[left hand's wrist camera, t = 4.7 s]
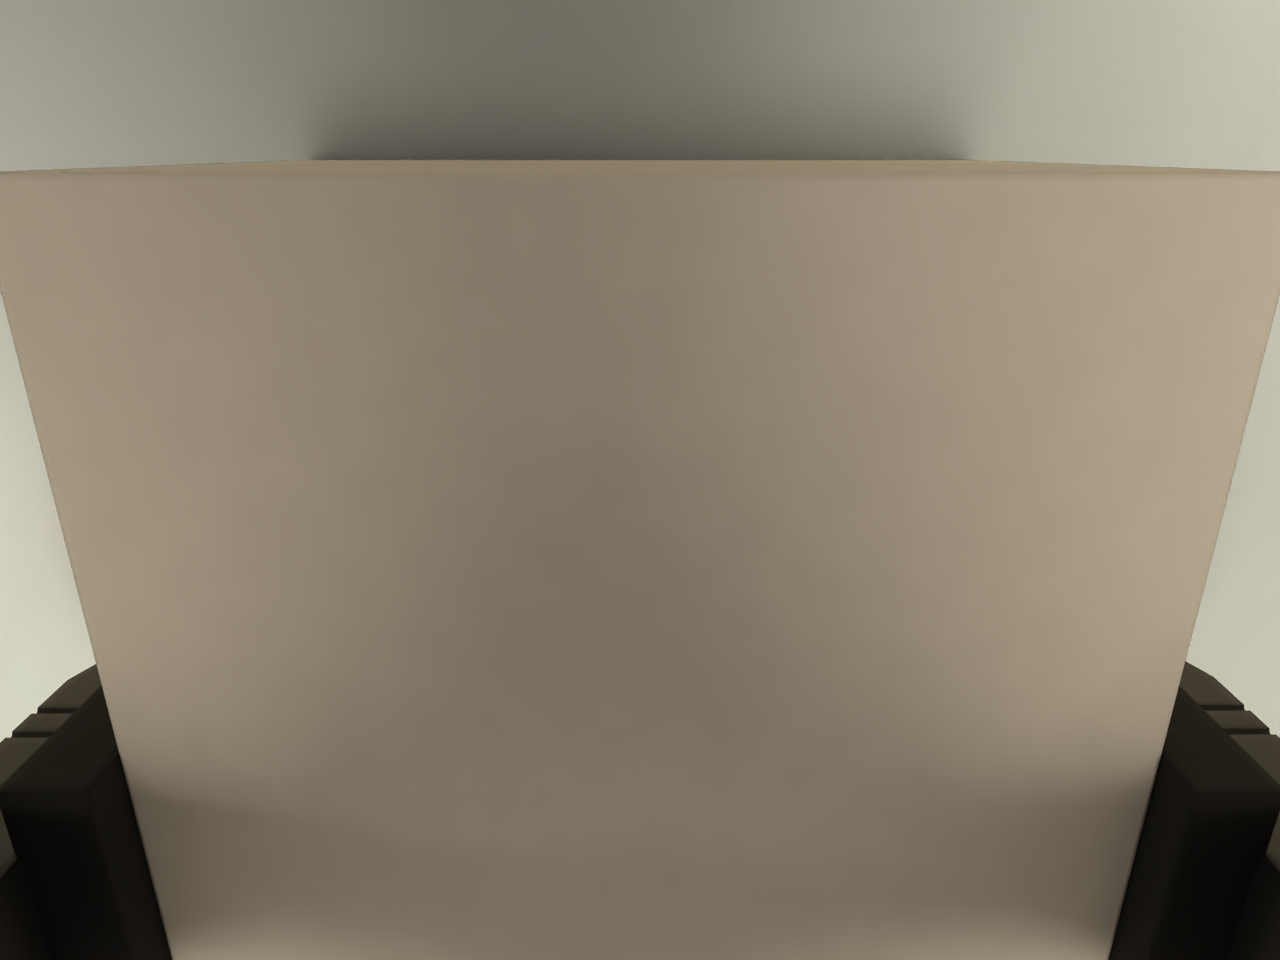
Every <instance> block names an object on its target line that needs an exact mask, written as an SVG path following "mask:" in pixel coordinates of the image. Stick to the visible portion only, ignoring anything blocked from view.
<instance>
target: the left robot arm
mask: <svg viewBox="0 0 1280 960" xmlns="http://www.w3.org/2000/svg"><path fill="white" fill-rule="evenodd" d="M0 960H172V957H171V953H170V949H169V945H168V941H167V937H166V933H165V929H164V926H163V922H162V918H161V914H160V910H159V906H158V902H157V898H156V894H155V891H154V887H153V883H152V879H151V875H150V871H149V867H148V863H147V859H146V855H145V852H144V848H143V844H142V840H141V836H140V832H139V828H138V824H137V820H136V816H135V813H134V809H133V805H132V801H131V797H130V793H129V789H128V785H127V781H126V777H125V774H124V770H123V766H122V762H121V758H120V754H119V750H118V746H117V742H116V738H115V735H114V731H113V727H112V723H111V719H110V715H109V711H108V707H107V703H106V700H105V696H104V692H103V688H102V684H101V680H100V676H99V672H98V668H97V664H95V665H94V666H92V667H90V668H88V669H87V670H85V671H83V672H81V673H79V674H78V675H76V676H74V677H72V678H71V679H69V680H67V681H66V682H65V683H64V684H63V685H62V686H61V687H60V688H59V689H58V690H57V691H55V692H54V693H53V694H52V695H51V696H50V697H49V698H48V699H47V700H46V701H45V702H44V703H43V704H41V705H40V706H39V707H38V711H37V714H31V715H30V716H29V717H28V718H26V719H25V720H24V721H23V722H22V723H21V724H20V725H19V726H18V727H17V728H16V729H15V730H14V731H12V737H11V738H5V739H4V740H3V741H2V742H1V743H0ZM1109 960H1280V738H1279V737H1278V736H1277V735H1271V734H1270V732H1269V728H1268V727H1267V726H1266V725H1265V724H1264V723H1263V722H1262V721H1261V720H1260V719H1259V718H1257V717H1256V716H1255V715H1254V714H1253V713H1252V712H1251V711H1245V710H1244V705H1243V704H1242V703H1241V702H1240V701H1239V700H1238V699H1237V698H1236V697H1235V696H1234V695H1233V694H1231V693H1230V692H1229V691H1228V690H1227V689H1226V688H1225V687H1224V686H1223V685H1222V684H1221V683H1220V682H1218V681H1217V680H1216V679H1215V678H1214V677H1213V676H1211V675H1209V674H1207V673H1205V672H1204V671H1202V670H1200V669H1198V668H1196V667H1195V666H1193V665H1191V664H1189V663H1188V662H1186V661H1185V664H1184V668H1183V672H1182V676H1181V680H1180V684H1179V687H1178V691H1177V695H1176V699H1175V703H1174V707H1173V711H1172V715H1171V719H1170V722H1169V726H1168V730H1167V734H1166V738H1165V742H1164V746H1163V750H1162V754H1161V757H1160V761H1159V765H1158V769H1157V773H1156V777H1155V781H1154V785H1153V789H1152V792H1151V796H1150V800H1149V804H1148V808H1147V812H1146V816H1145V820H1144V824H1143V827H1142V831H1141V835H1140V839H1139V843H1138V847H1137V851H1136V855H1135V859H1134V862H1133V866H1132V870H1131V874H1130V878H1129V882H1128V886H1127V890H1126V893H1125V897H1124V901H1123V905H1122V909H1121V913H1120V917H1119V921H1118V925H1117V928H1116V932H1115V936H1114V940H1113V944H1112V948H1111V952H1110V956H1109Z"/></svg>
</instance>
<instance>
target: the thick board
mask: <svg viewBox="0 0 1280 960" xmlns="http://www.w3.org/2000/svg"><path fill="white" fill-rule="evenodd" d="M0 290H1V294H2V298H3V302H4V306H5V310H6V314H7V318H8V321H9V325H10V329H11V333H12V337H13V341H14V345H15V349H16V353H17V356H18V360H19V364H20V368H21V372H22V376H23V380H24V384H25V388H26V392H27V395H28V399H29V403H30V407H31V411H32V415H33V419H34V423H35V427H36V431H37V434H38V438H39V442H40V446H41V450H42V454H43V458H44V462H45V466H46V470H47V473H48V477H49V481H50V485H51V489H52V493H53V497H54V501H55V505H56V509H57V512H58V516H59V520H60V524H61V528H62V532H63V536H64V540H65V544H66V547H67V551H68V555H69V559H70V563H71V567H72V571H73V575H74V579H75V583H76V586H77V590H78V594H79V598H80V602H81V606H82V610H83V614H84V618H85V622H86V625H87V629H88V633H89V637H90V641H91V645H92V649H93V653H94V657H95V661H96V664H97V668H98V672H99V676H100V680H101V684H102V688H103V692H104V696H105V700H106V703H107V707H108V711H109V715H110V719H111V723H112V727H113V731H114V735H115V738H116V742H117V746H118V750H119V754H120V758H121V762H122V766H123V770H124V774H125V777H126V781H127V785H128V789H129V793H130V797H131V801H132V805H133V809H134V813H135V816H136V820H137V824H138V828H139V832H140V836H141V840H142V844H143V848H144V852H145V855H146V859H147V863H148V867H149V871H150V875H151V879H152V883H153V887H154V891H155V894H156V898H157V902H158V906H159V910H160V914H161V918H162V922H163V926H164V929H165V933H166V937H167V941H168V945H169V949H170V953H171V957H172V960H1109V956H1110V952H1111V948H1112V944H1113V940H1114V936H1115V932H1116V928H1117V925H1118V921H1119V917H1120V913H1121V909H1122V905H1123V901H1124V897H1125V893H1126V890H1127V886H1128V882H1129V878H1130V874H1131V870H1132V866H1133V862H1134V859H1135V855H1136V851H1137V847H1138V843H1139V839H1140V835H1141V831H1142V827H1143V824H1144V820H1145V816H1146V812H1147V808H1148V804H1149V800H1150V796H1151V792H1152V789H1153V785H1154V781H1155V777H1156V773H1157V769H1158V765H1159V761H1160V757H1161V754H1162V750H1163V746H1164V742H1165V738H1166V734H1167V730H1168V726H1169V722H1170V719H1171V715H1172V711H1173V707H1174V703H1175V699H1176V695H1177V691H1178V687H1179V684H1180V680H1181V676H1182V672H1183V668H1184V664H1185V660H1186V656H1187V652H1188V649H1189V645H1190V641H1191V637H1192V633H1193V629H1194V625H1195V621H1196V617H1197V614H1198V610H1199V606H1200V602H1201V598H1202V594H1203V590H1204V586H1205V582H1206V579H1207V575H1208V571H1209V567H1210V563H1211V559H1212V555H1213V551H1214V547H1215V544H1216V540H1217V536H1218V532H1219V528H1220V524H1221V520H1222V516H1223V512H1224V509H1225V505H1226V501H1227V497H1228V493H1229V489H1230V485H1231V481H1232V477H1233V474H1234V470H1235V466H1236V462H1237V458H1238V454H1239V450H1240V446H1241V442H1242V439H1243V435H1244V431H1245V427H1246V423H1247V419H1248V415H1249V411H1250V407H1251V404H1252V400H1253V396H1254V392H1255V388H1256V384H1257V380H1258V376H1259V372H1260V369H1261V365H1262V361H1263V357H1264V353H1265V349H1266V345H1267V341H1268V337H1269V334H1270V330H1271V326H1272V322H1273V318H1274V314H1275V310H1276V306H1277V302H1278V299H1279V295H1280V172H1275V171H1249V170H1223V169H1196V168H1170V167H1144V166H1117V165H1091V164H1065V163H1039V162H1012V161H986V160H293V161H267V162H240V163H214V164H187V165H161V166H135V167H108V168H82V169H55V170H29V171H2V172H0Z"/></svg>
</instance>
